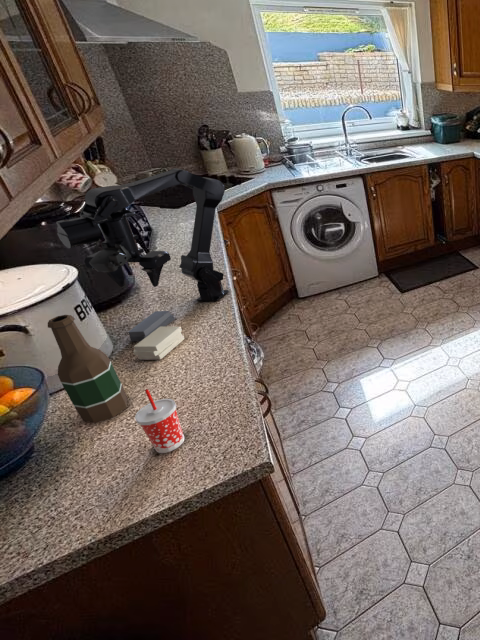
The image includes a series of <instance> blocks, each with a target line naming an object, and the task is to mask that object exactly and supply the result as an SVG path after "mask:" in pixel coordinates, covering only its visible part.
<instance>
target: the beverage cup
mask: <svg viewBox="0 0 480 640" xmlns="http://www.w3.org/2000/svg"><path fill="white" fill-rule="evenodd" d="M144 392H145V394H146V396H147V398H148V401H149V403H147V404H146V405H144V406H142V407H141V408H140V409H139V410H138V411H137V412H136V413H135V415H134V419H135V422H136V423H137V424H138V425H140V427H141V428H142V430H143V431H144V433H145V435H146V437H147V438H148V440H149V442H150V443H151V445H152V446H153V448H154V450H155V451H156V452H157V453H158V454H165V453H170V452H172V451H174V450H176V449H178V448H179V447H181V446H182V444H183V443H184V441H185V439H186V438H185V435H184V431H183V428H182V426H181V423H180V419H179V416H178V413H177V404H176V401H175V400H174V399H172V398H161V399H157V400H154V399H153V397H152V395H151V392H150V390H149V389H148V388H146V389H144Z"/></svg>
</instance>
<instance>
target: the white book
mask: <svg viewBox="0 0 480 640" xmlns="http://www.w3.org/2000/svg"><path fill="white" fill-rule="evenodd" d="M182 331H183V329H182V327H181V326H180V325H179V326H174V325H173V326H165V327H159V328H158V329H156V330H155V331H154V332H152V333H151V334H150V335H148V336H147V337H146V338H144V339H143V340H142V341H138V343H136V344H135V345H134V346H133V349H134V350H135V351H158V350H159V349H160V348H162V347H163V346H164V345H165V344H166V343H168V342H169V341H170V340H171V339H173V338H174V337H175V336H176V335H177V334H179V333H180V332H181V333H182Z"/></svg>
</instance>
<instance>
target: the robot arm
mask: <svg viewBox="0 0 480 640" xmlns="http://www.w3.org/2000/svg"><path fill="white" fill-rule="evenodd" d="M179 185H183V186H185V187H187V188H190V189H192V196H193V199H194V202H195V204H196V207H195V208H196V209H195V216H194V222H193V228H192V229H193V231H192V237H191V238H192V239H191V245H190V249H189V252H187V254H181V255H180V265H179V266H178V268H179V269H180V271H181V273H182V274H183V275H184V276H185V277H188V278H190V279H192V280H193V281H196V282H197V283H196V286H197V291H198V294H199V297H198V298H197V299H196V301H197V302H217V301H219V300H221V299H222V298H223V297H224V296H226V294H228V293H229V290H228V289H224V287H223V284H222V281H223V280H224V272H220V271H217V270H215V269H214V261H213V258H212V256H211V252H210V251H211V244H212V237H213V230H214V222H215V217H216V216H215V215H216V209H217V207H218V206H219V205H220V203H221V202H222V201H223V198H224V195H225V192H226V187H225V184H223V182H222V181H220V180H218V179H215V178H210V177H206V176H200V175H198V174H195V173H192V172H190V171H188V170H186V169H182V168H178V167H177V168H176V167H174V168H171V169H170V170H167V171H163V172H161V173H158V174H154V175H151V176H148V177H145V178H142V179H138V180H135V181H132V182H129V183H125V184H119V185H118V184H115V185H107V186H101V187H95V188H91V189H89V190H88V191H87V192H86V194H85V196H84V201H85V203H84V205H83V207H82V209H81V211H80V213H79V217H75V218H70V219H62V220H58V221H56V222H55V223H56V226H57V227H56V230H57V233H56V235H57V237H58V239H59V240H60V242H61V243H62V245H64V247H66V248H67V249H73V248H76V247H80V246H84V245H88V244H91V243H96V242H99V241H100V239H102V237H103V238H104V241H102V242H101V247H102V250H98V251H96V252H94V253H92V254H89V255H87V256H86V257H84V260H83V262H84V264H85V267H86V268H87V269H92V270H93V271H96V272H98V273H101V272H102V273H104V274H106V275H107V276H108V278H110V279H111V280H112V281H113V282H115V284H117V286H119V288H123V287H125V285H126V284H125V276H124V271H123V266H124V265H125V264H126V263H139V266H141V267H142V268H141V271H143V272H146V274H147V276H148V279H149V281H150V283H151V285H152V286H153V288H156V287H158V286H159V282H160V278H161V275H162V271H163V268H164V265H165V264H167V263H168V262H169V261H171V260H172V258H171V256H170V252H168V251H166V250H152V251H150V252H147V253H145V254H144V255H143V253H144V252H145V250H144V248H139V246H138V243H137V241H136V240H139V239H140V237H139V235H138V234H134V233H133V231H132V228H131V225H130V222H129V220H128V218H130V217H135V216H136V215H137V214H136V212H134V211H132V210H129V209H127V207H130V206H131V205H132V204H133V203H134V202H135V201H137V200H139V199H141V198H145V197H147V196H150V195H153V194H156V193H159V192H162V191H164V190H167V189H171V188H173V187H177V186H179Z"/></svg>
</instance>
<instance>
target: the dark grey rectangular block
mask: <svg viewBox="0 0 480 640" xmlns="http://www.w3.org/2000/svg"><path fill="white" fill-rule="evenodd" d="M173 321H175V316H174V314H172V313H171V311H170V310H155V311H154V312H152V313H150V314H149V315H148V316H147V317H145V319H143V320H142V321H140V322H139V323H138V324H136V325H135V326H133V328H131V329H130V330H128V331H127V333H128V336H129V340H130V342H140V341H142V340H143V339H144V338H146V337H147V336H148V335H150V334H151V333H152V332H154V331H155V330H156V329H158V328H159V327H168V325H170V324H171V323H172V322H173Z"/></svg>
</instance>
